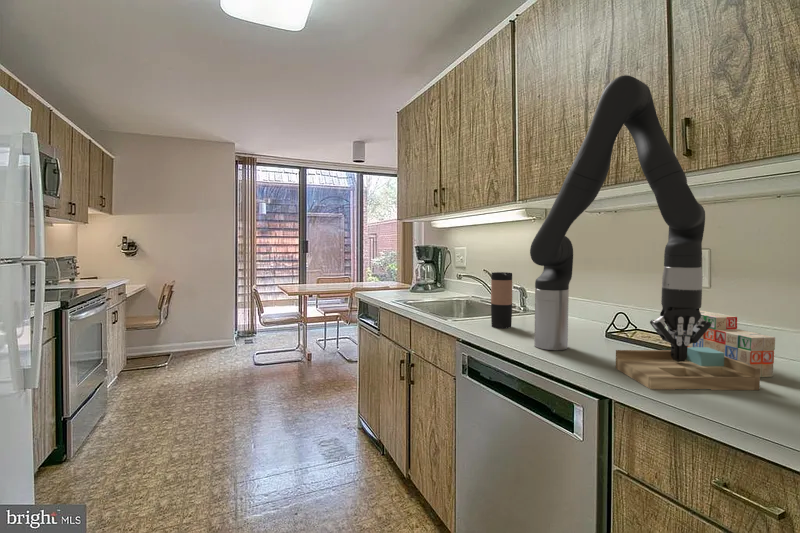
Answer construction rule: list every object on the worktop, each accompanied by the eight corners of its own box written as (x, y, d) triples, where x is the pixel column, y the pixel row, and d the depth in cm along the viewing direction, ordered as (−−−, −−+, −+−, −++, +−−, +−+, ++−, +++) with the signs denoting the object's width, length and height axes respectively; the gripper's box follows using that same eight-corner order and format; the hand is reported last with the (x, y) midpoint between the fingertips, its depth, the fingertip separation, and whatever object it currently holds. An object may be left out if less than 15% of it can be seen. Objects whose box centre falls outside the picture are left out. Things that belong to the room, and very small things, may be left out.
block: (685, 359, 93) (686, 347, 93) (707, 359, 93) (707, 347, 93) (701, 366, 88) (701, 352, 88) (723, 366, 88) (724, 353, 88)
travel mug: (493, 323, 150) (493, 272, 149) (513, 325, 146) (514, 272, 145) (488, 327, 143) (489, 273, 142) (509, 329, 139) (510, 273, 138)
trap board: (615, 368, 95) (615, 350, 95) (707, 368, 94) (708, 350, 94) (650, 389, 81) (651, 368, 81) (759, 390, 80) (760, 368, 80)
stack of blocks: (774, 377, 88) (776, 323, 87) (749, 378, 88) (751, 324, 87) (694, 352, 109) (696, 308, 109) (673, 352, 109) (675, 309, 108)
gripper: (663, 288, 86) (660, 365, 87) (723, 288, 86) (720, 365, 87) (642, 284, 93) (640, 356, 94) (698, 284, 93) (695, 356, 94)
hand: (678, 360), depth 91 cm, fingers closed
